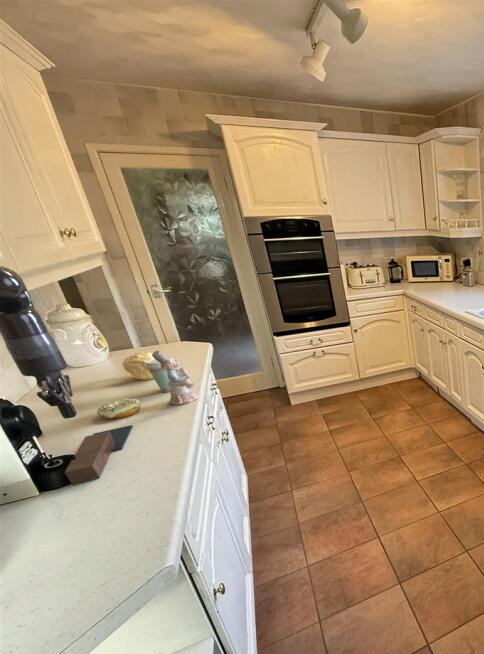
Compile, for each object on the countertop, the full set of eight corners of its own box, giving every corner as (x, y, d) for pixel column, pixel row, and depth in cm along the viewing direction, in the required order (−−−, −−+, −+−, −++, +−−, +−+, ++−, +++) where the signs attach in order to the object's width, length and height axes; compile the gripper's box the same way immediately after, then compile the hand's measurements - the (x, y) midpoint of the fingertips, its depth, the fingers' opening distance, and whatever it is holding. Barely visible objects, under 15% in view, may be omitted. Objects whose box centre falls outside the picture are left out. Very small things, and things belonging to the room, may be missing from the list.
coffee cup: (176, 383, 156) (164, 355, 151) (190, 386, 153) (178, 357, 148) (151, 392, 149) (138, 362, 144) (166, 395, 146) (153, 365, 141)
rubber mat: (122, 449, 112) (121, 447, 112) (78, 459, 108) (77, 458, 108) (133, 426, 125) (132, 424, 124) (94, 435, 120) (93, 433, 120)
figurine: (170, 408, 136) (147, 354, 127) (168, 401, 141) (146, 348, 133) (201, 400, 141) (181, 347, 133) (198, 393, 147) (179, 342, 139)
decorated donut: (110, 423, 127) (105, 413, 125) (94, 417, 131) (88, 407, 129) (148, 409, 135) (144, 399, 134) (131, 404, 139) (127, 394, 138)
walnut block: (92, 465, 98) (109, 431, 113) (64, 472, 96) (85, 436, 110) (99, 478, 100) (115, 442, 114) (72, 485, 98) (92, 448, 112)
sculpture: (124, 383, 158) (112, 357, 154) (149, 371, 169) (139, 348, 164) (152, 382, 158) (142, 357, 153) (176, 371, 169) (166, 347, 164)
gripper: (24, 348, 97) (59, 411, 104) (0, 364, 86) (40, 432, 93) (67, 342, 100) (97, 403, 107) (48, 357, 90) (83, 422, 97)
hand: (71, 416), depth 100 cm, fingers closed
